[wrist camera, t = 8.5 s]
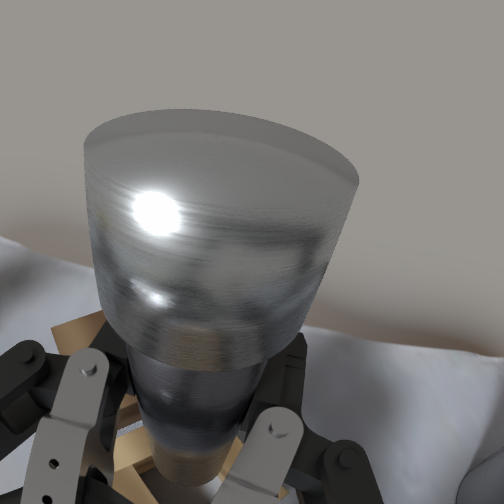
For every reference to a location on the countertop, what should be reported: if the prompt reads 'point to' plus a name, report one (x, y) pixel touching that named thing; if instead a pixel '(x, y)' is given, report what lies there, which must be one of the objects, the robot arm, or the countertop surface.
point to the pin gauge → (207, 262)
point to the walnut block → (81, 336)
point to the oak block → (151, 466)
